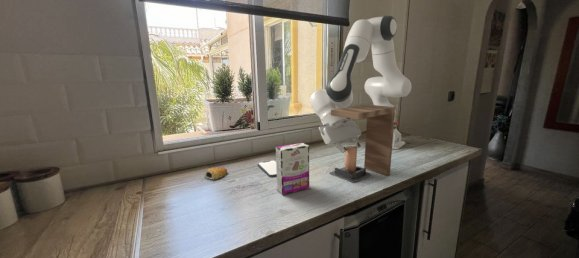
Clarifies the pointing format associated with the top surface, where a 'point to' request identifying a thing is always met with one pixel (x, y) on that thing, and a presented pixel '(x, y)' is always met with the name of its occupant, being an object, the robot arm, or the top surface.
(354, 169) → the terracotta spice jar
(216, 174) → the pastry
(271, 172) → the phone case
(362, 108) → the walnut shelf
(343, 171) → the tray
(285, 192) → the candy bar box
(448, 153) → the top surface
